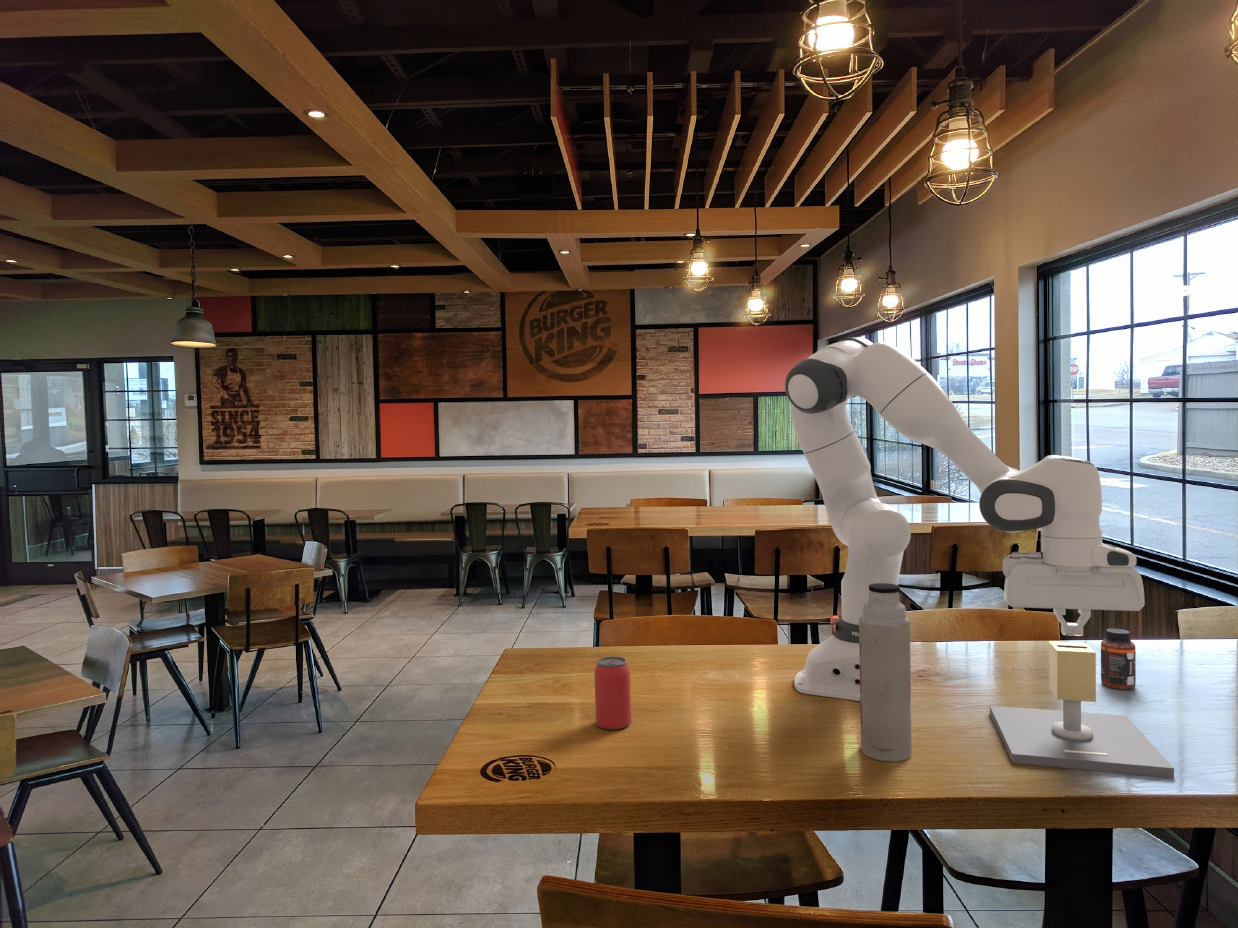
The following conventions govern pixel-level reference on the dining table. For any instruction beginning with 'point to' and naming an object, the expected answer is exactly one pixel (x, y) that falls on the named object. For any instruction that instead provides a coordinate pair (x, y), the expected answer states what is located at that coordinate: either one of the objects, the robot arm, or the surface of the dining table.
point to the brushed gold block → (1072, 671)
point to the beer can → (612, 693)
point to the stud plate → (1077, 740)
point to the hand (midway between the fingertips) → (1072, 634)
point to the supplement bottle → (1118, 660)
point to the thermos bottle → (885, 675)
